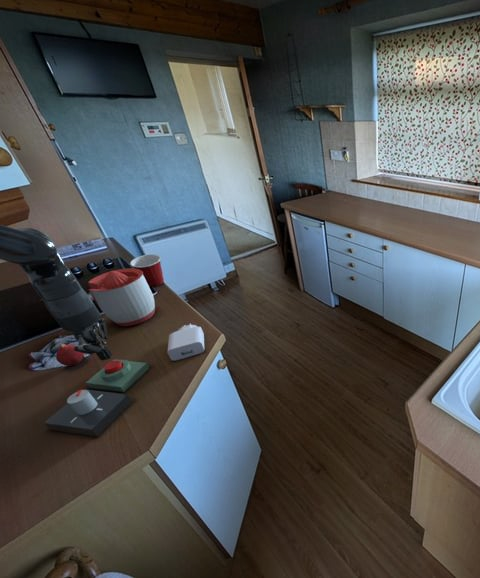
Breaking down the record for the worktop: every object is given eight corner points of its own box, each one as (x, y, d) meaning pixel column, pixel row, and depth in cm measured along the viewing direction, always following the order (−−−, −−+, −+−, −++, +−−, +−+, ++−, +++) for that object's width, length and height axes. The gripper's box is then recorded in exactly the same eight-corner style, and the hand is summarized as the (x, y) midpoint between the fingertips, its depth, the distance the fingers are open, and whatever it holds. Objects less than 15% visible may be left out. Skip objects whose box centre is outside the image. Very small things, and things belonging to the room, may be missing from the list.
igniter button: (103, 373, 83) (100, 368, 82) (114, 363, 86) (112, 359, 85) (114, 374, 83) (111, 370, 82) (125, 365, 86) (123, 360, 85)
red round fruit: (93, 360, 92) (79, 341, 87) (70, 373, 87) (54, 354, 83) (83, 354, 94) (69, 336, 90) (60, 367, 89) (44, 347, 85)
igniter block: (89, 387, 83) (81, 378, 81) (117, 364, 91) (111, 355, 88) (124, 392, 82) (117, 382, 80) (149, 368, 89) (144, 358, 87)
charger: (204, 326, 107) (205, 351, 96) (174, 333, 103) (172, 361, 92) (200, 315, 104) (200, 341, 93) (169, 323, 100) (166, 350, 89)
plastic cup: (143, 292, 125) (131, 267, 119) (140, 282, 132) (127, 259, 125) (173, 283, 131) (162, 260, 125) (167, 275, 138) (157, 251, 132)
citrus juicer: (103, 317, 110) (73, 271, 99) (157, 300, 120) (136, 256, 109) (105, 338, 100) (73, 289, 90) (164, 318, 110) (141, 272, 99)
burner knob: (94, 411, 73) (84, 399, 71) (74, 417, 72) (62, 404, 69) (100, 399, 76) (90, 386, 74) (80, 404, 75) (70, 392, 72)
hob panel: (50, 430, 72) (43, 422, 70) (90, 396, 81) (84, 388, 79) (97, 436, 71) (90, 429, 69) (132, 401, 79) (127, 394, 78)
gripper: (80, 319, 69) (115, 370, 78) (101, 291, 79) (130, 339, 88) (38, 327, 66) (80, 379, 75) (65, 297, 77) (99, 346, 86)
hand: (107, 357), depth 82 cm, fingers closed
